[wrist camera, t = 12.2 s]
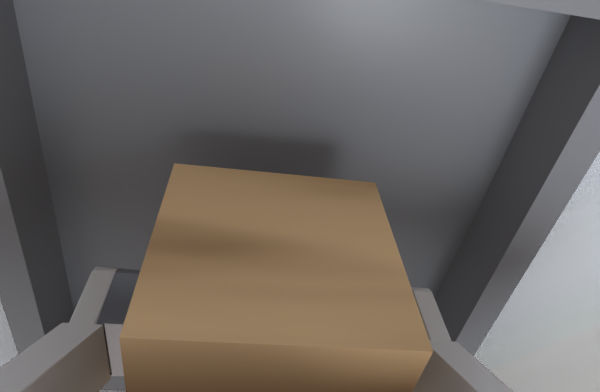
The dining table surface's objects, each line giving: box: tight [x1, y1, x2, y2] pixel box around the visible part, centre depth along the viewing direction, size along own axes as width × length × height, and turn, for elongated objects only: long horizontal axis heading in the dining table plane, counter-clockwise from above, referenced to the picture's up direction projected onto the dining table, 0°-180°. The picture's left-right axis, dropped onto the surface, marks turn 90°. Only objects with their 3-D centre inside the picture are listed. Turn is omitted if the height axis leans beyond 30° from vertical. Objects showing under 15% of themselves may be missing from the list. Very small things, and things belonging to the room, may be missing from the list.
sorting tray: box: [0, 0, 600, 390], centre depth 14 cm, size 16×16×3 cm
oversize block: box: [119, 163, 433, 392], centre depth 11 cm, size 5×5×5 cm
